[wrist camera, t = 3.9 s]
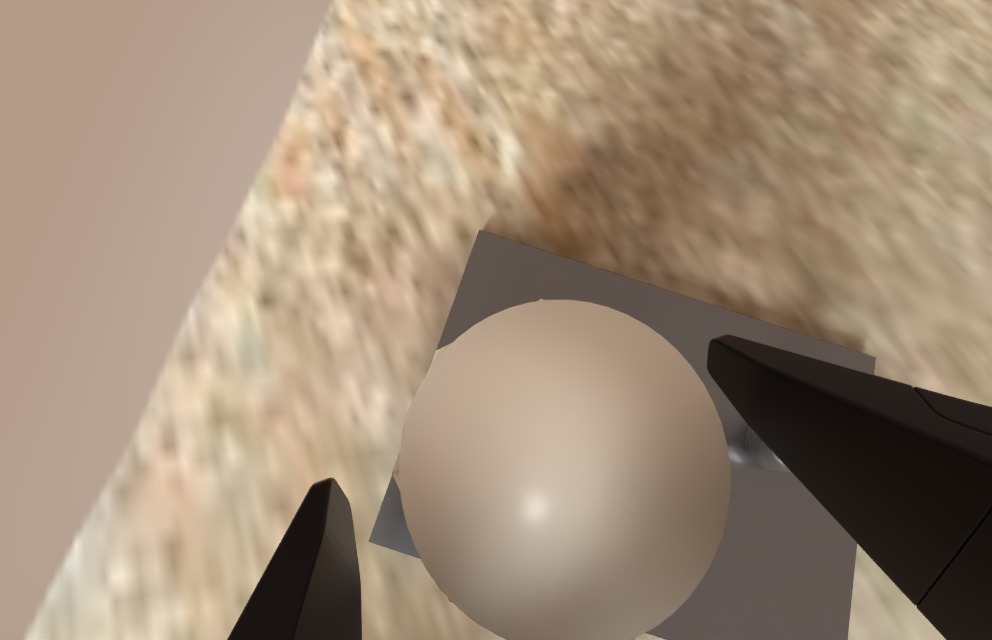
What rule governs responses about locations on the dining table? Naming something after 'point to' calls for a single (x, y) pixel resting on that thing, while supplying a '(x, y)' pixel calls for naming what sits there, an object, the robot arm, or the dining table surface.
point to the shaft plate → (753, 466)
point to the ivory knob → (564, 473)
